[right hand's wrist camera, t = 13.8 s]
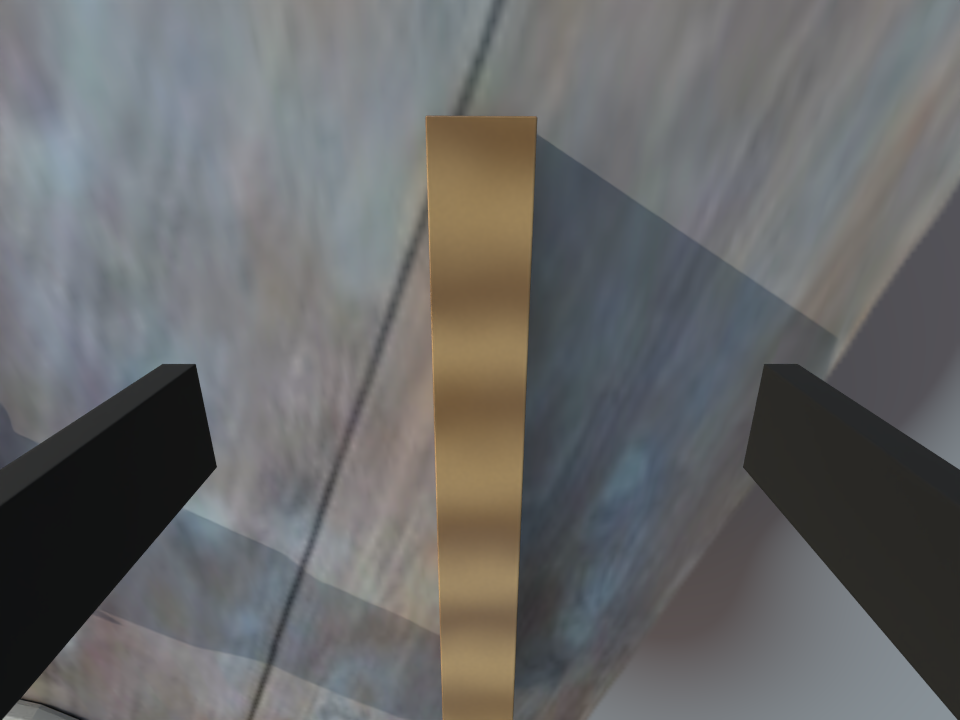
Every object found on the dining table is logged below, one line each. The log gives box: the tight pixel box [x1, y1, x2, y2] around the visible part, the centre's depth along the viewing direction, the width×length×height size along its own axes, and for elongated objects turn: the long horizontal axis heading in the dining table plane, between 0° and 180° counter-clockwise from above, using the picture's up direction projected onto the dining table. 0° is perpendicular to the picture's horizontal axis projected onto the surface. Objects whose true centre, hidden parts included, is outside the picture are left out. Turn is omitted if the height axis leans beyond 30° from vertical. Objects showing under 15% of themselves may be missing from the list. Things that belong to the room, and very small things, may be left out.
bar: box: [426, 116, 537, 720], centre depth 39 cm, size 51×6×8 cm, turn 0°
